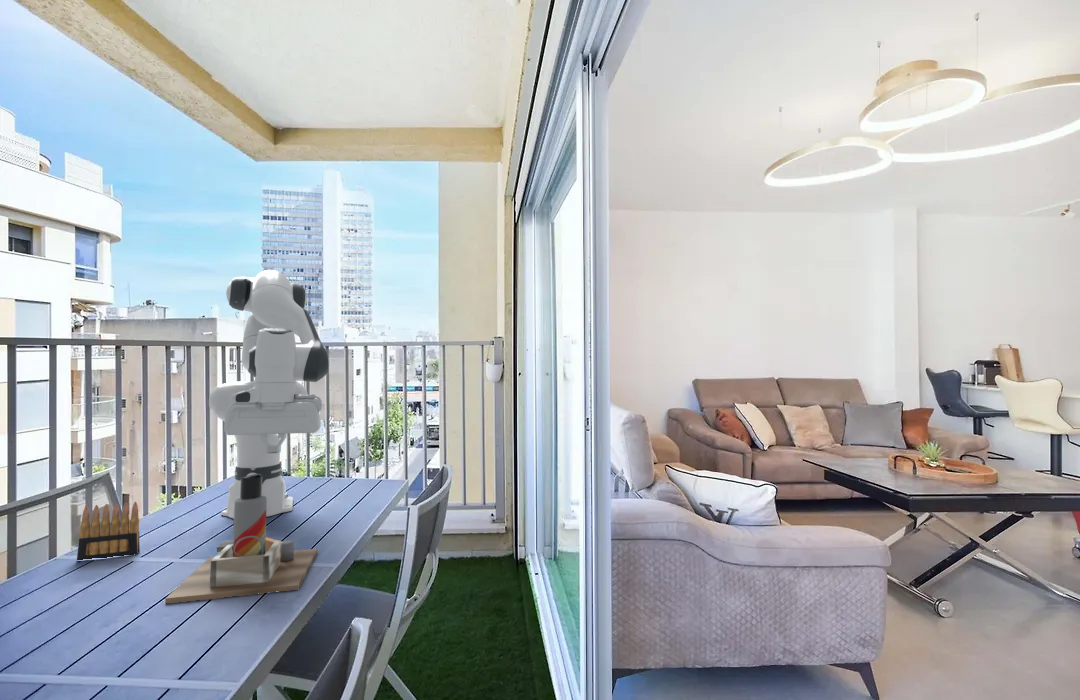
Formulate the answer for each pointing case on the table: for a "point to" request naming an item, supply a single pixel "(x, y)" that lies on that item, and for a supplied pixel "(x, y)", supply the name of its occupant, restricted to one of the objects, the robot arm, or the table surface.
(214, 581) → the cradle
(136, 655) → the table surface
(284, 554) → the arm
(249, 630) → the table surface
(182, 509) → the table surface
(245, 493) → the lotion bottle
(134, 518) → the ammunition clip
